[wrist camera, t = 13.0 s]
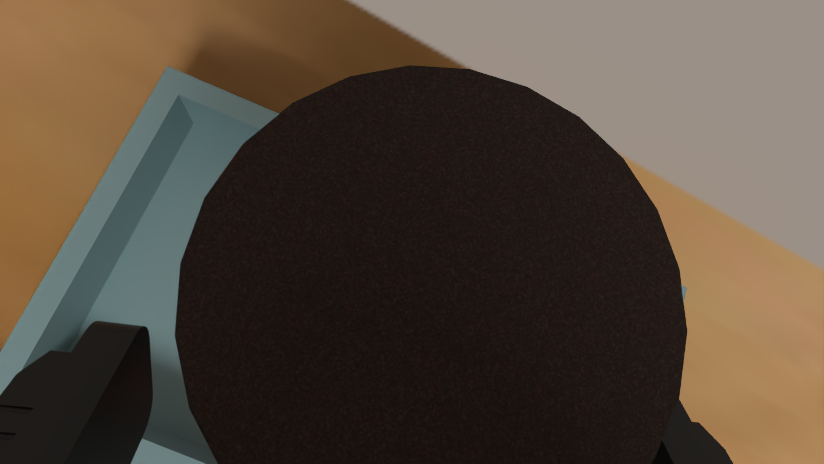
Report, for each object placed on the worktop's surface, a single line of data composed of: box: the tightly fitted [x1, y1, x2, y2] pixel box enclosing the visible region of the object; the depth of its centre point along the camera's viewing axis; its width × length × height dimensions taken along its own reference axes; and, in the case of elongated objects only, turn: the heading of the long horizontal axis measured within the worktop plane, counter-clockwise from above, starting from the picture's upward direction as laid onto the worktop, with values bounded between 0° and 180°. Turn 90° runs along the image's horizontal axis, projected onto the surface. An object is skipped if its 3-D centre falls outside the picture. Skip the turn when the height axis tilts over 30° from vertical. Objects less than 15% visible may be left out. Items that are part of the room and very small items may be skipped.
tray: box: [0, 66, 687, 464], centre depth 20 cm, size 20×12×3 cm, turn 69°
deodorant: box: [175, 66, 687, 464], centre depth 14 cm, size 6×6×15 cm
